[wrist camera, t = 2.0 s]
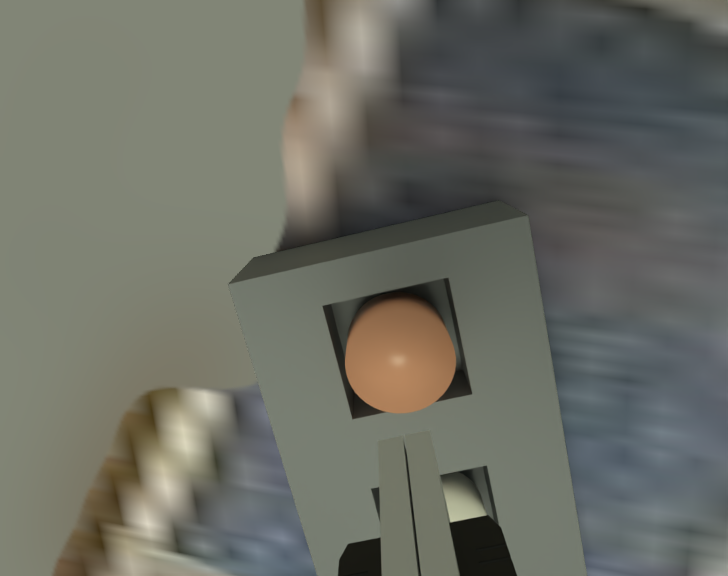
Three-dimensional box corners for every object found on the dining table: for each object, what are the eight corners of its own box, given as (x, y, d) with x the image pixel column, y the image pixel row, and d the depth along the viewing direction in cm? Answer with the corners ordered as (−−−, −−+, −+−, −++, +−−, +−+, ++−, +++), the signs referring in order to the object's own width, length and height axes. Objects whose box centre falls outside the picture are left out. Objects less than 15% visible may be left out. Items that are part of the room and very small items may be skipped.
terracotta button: (436, 282, 28) (444, 298, 25) (455, 374, 29) (465, 400, 26) (337, 304, 28) (333, 323, 25) (360, 394, 30) (359, 423, 27)
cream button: (473, 459, 30) (484, 494, 28) (490, 538, 32) (502, 578, 29) (382, 478, 31) (383, 513, 28) (401, 555, 32) (405, 596, 29)
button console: (499, 200, 31) (528, 215, 26) (575, 633, 39) (610, 721, 33) (253, 257, 32) (227, 284, 27) (373, 669, 40) (374, 760, 34)
